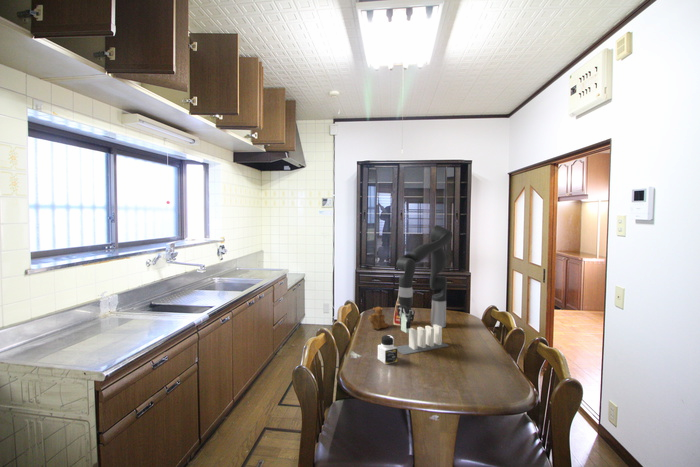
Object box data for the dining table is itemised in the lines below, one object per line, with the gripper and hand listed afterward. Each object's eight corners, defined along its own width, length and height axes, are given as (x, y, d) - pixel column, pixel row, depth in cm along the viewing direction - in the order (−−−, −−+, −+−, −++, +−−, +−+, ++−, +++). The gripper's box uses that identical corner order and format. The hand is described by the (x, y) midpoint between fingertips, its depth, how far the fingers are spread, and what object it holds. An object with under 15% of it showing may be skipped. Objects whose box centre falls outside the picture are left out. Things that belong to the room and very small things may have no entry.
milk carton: (393, 324, 210) (393, 294, 209) (396, 320, 218) (396, 292, 218) (406, 326, 206) (407, 296, 206) (409, 322, 215) (409, 293, 214)
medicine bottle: (385, 364, 150) (385, 340, 149) (377, 358, 156) (377, 335, 156) (397, 361, 153) (397, 337, 152) (389, 356, 159) (389, 333, 159)
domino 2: (414, 349, 166) (414, 331, 166) (408, 346, 171) (409, 328, 171) (417, 349, 167) (417, 330, 167) (411, 345, 172) (412, 328, 172)
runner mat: (393, 347, 170) (393, 347, 170) (436, 339, 182) (437, 339, 182) (403, 355, 161) (403, 354, 161) (448, 346, 173) (448, 345, 173)
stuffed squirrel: (389, 326, 207) (389, 306, 206) (380, 332, 194) (380, 311, 194) (375, 323, 212) (375, 304, 211) (366, 329, 199) (366, 309, 199)
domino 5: (438, 345, 173) (439, 327, 173) (432, 342, 178) (433, 324, 178) (441, 344, 174) (441, 326, 174) (435, 341, 179) (436, 324, 178)
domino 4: (430, 346, 171) (431, 328, 171) (425, 343, 176) (425, 325, 175) (433, 346, 172) (434, 328, 172) (427, 342, 176) (428, 325, 176)
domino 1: (403, 329, 169) (404, 311, 169) (409, 332, 165) (409, 313, 164) (400, 330, 168) (401, 311, 168) (406, 333, 164) (406, 314, 164)
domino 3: (422, 348, 169) (423, 330, 168) (417, 344, 173) (417, 327, 173) (425, 347, 170) (426, 329, 169) (420, 344, 174) (420, 326, 174)
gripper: (419, 297, 161) (419, 330, 161) (403, 291, 174) (403, 322, 175) (407, 298, 158) (407, 332, 158) (392, 293, 171) (391, 323, 171)
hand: (405, 326), depth 166 cm, fingers closed on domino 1, 5 cm apart
